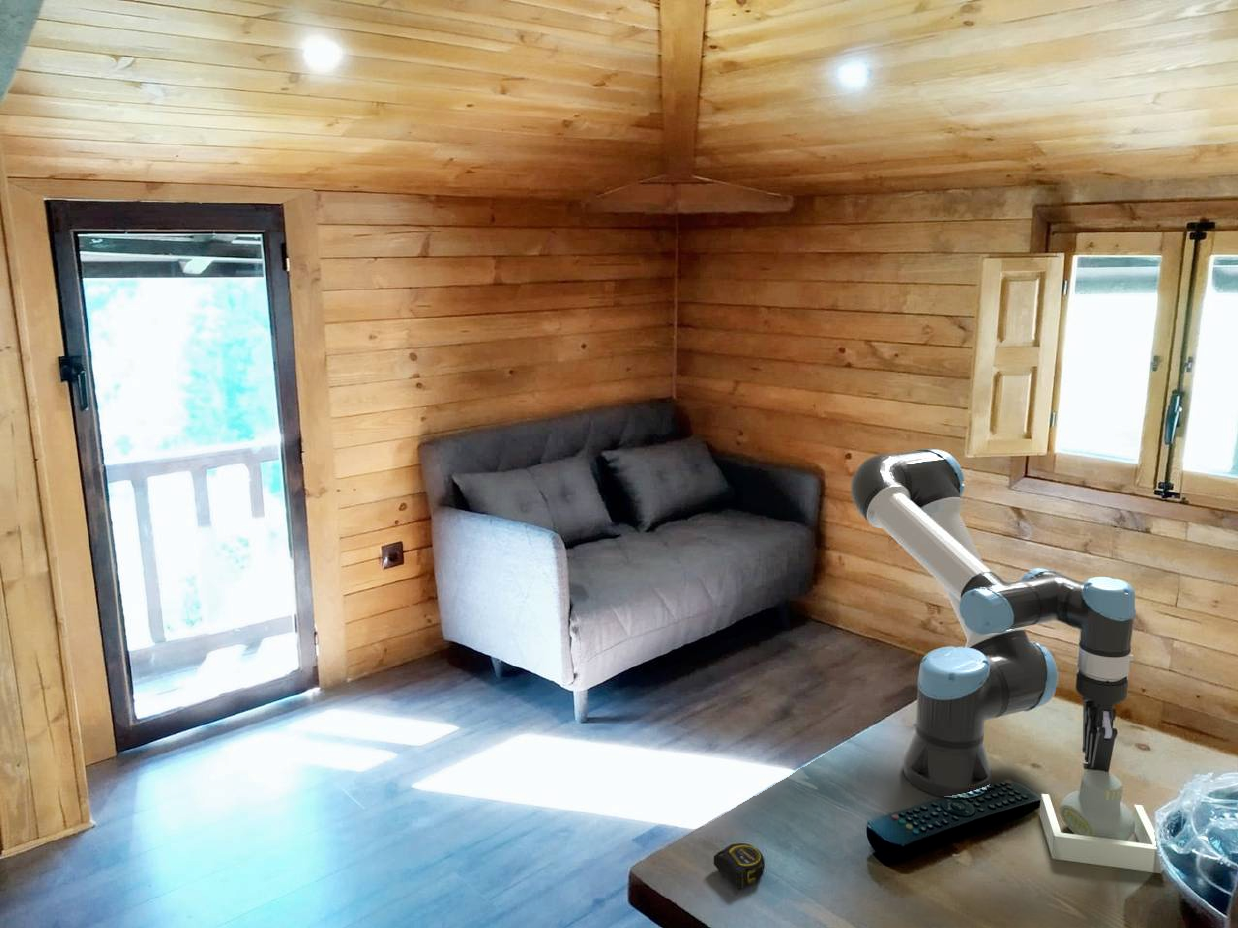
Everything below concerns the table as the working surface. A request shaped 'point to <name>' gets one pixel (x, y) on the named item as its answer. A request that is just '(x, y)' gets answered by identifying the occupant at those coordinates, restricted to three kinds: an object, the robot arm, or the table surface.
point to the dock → (1102, 843)
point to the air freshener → (1098, 808)
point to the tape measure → (740, 864)
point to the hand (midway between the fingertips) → (1092, 800)
